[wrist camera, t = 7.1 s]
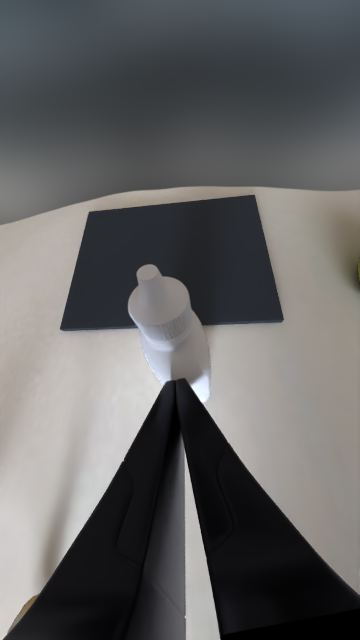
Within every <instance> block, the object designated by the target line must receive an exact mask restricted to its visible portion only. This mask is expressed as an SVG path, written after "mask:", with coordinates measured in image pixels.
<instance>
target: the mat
mask: <svg viewBox="0 0 360 640" xmlns="http://www.w3.org/2000/svg"><path fill="white" fill-rule="evenodd" d="M148 264H151V265H155V266H156V267H157V268H158V270H159V272H160V273H161V275H162V276H163V277H171V278H175V279H177V280H178V281H180V282H182V284H184V286H186V288H187V290H188V293H189V298H190V304H191V309H192V310H193V312H194V313H195V314H196V316H197V317H198V319H199V321H200V322H201V324H202V325H223V324H247V323H272V322H282V321H283V320H284V319H283V314H282V310H281V306H280V302H279V297H278V293H277V289H276V284H275V280H274V276H273V272H272V267H271V263H270V259H269V254H268V250H267V246H266V242H265V237H264V233H263V229H262V225H261V220H260V216H259V212H258V207H257V203H256V199H255V195H248V196H238V197H228V198H219V199H209V200H199V201H189V202H180V203H170V204H160V205H151V206H141V207H131V208H122V209H112V210H102V211H92V212H89V214H88V218H87V222H86V226H85V230H84V234H83V238H82V242H81V246H80V250H79V254H78V258H77V263H76V267H75V271H74V275H73V279H72V283H71V287H70V291H69V295H68V299H67V303H66V307H65V311H64V315H63V319H62V323H61V327H60V330H63V331H76V330H100V329H125V328H138V326H137V325H136V324H135V322H134V321H133V319H132V318H131V316H130V314H129V312H128V311H129V310H128V301H129V298H130V295H131V294H132V292H133V291H134V289H135V288H136V287H137V286H138V285H139V284H138V279H137V271H138V269H139V268H141V267H142V266H144V265H148Z"/></svg>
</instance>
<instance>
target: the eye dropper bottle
mask: <svg viewBox="0 0 360 640" xmlns="http://www.w3.org/2000/svg"><path fill="white" fill-rule="evenodd" d="M137 279H138V284H139V285H138V286H137V287H136V288H135V289H134V291H133V292H132V294H131V295H130V298H129V301H128V310H129V311H128V312H129V314H130V316H131V318H132V319H133V321H134V322H135V324H136V325H137V326H138V328H139V331H140V341H141V345H142V349H143V352H144V355H145V357H146V359H147V362H148V364H149V366H150V367H151V369H152V371H153V372H154V374H155V375H156V377H157V378H158V379H159V381H160V382H161V383H162V384H163V386H164V384H165V382H166V381H170V380H175V381H176V380H177V379H180V378H185V379H186V380H187V381H188V383H189V384H190V386H191V387H192V389H193V390H194V392H195V393H196V395H197V396H198V398H199V399H200V401H201V402H202V403H203V402H205V401H207V400H208V399H209V397H210V387H211V361H210V352H209V346H208V341H207V338H206V334H205V332H204V329H203V327H202V324H201V322H200V321H199V319H198V317H197V316H196V314H195V313H194V312H193V310H192V309H191V304H190V298H189V293H188V290H187V288H186V286H184V284H182V282H180V281H178V280H177V279H175V278H171V277H163V276H162V275H161V273H160V272H159V270H158V268H157V267H156V266H155V265H151V264H148V265H144V266H142V267H141V268H139V269H138V271H137Z"/></svg>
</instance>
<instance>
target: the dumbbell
mask: <svg viewBox="0 0 360 640" xmlns="http://www.w3.org/2000/svg"><path fill="white" fill-rule="evenodd" d="M358 274H359V281H360V258H359V261H358Z"/></svg>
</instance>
